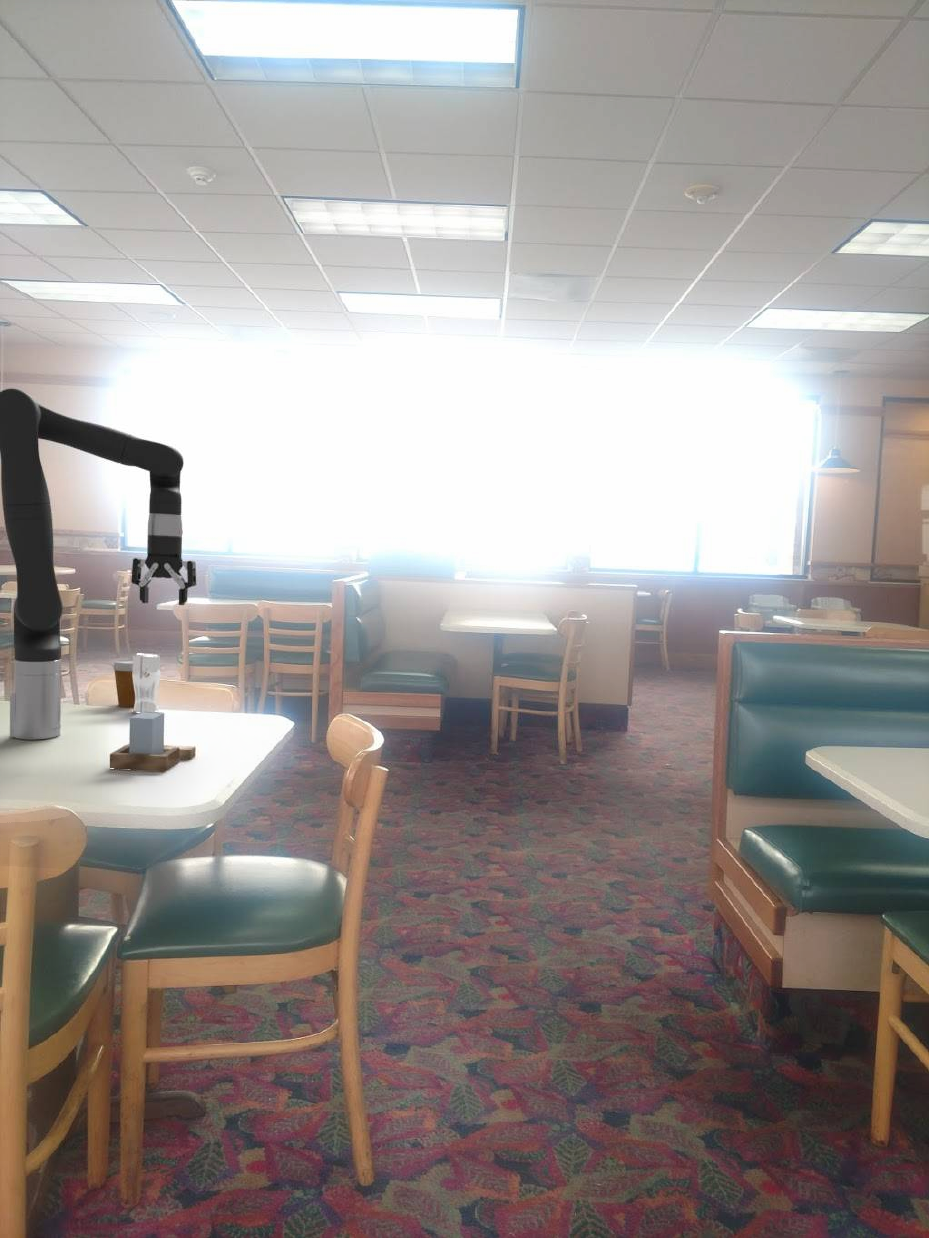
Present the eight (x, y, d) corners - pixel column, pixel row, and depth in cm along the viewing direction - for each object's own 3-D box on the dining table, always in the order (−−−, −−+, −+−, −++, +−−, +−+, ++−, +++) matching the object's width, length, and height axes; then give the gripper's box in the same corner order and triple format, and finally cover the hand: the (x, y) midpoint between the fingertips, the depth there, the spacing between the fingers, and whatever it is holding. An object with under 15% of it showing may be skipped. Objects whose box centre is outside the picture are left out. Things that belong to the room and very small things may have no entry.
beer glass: (164, 712, 217) (165, 655, 216) (138, 715, 212) (139, 657, 211) (152, 708, 222) (153, 652, 221) (126, 710, 217) (127, 654, 216)
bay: (109, 769, 161) (109, 754, 160) (125, 759, 168) (125, 745, 168) (165, 771, 161) (166, 756, 161) (179, 762, 168) (179, 747, 168)
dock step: (122, 756, 171) (122, 746, 171) (128, 752, 174) (128, 743, 174) (190, 759, 171) (190, 749, 171) (195, 755, 174) (195, 746, 174)
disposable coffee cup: (141, 709, 220) (142, 664, 219) (105, 707, 220) (106, 662, 219) (155, 702, 230) (156, 660, 229) (121, 701, 230) (121, 658, 229)
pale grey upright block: (128, 767, 162) (129, 717, 162) (142, 760, 169) (143, 711, 168) (151, 769, 162) (152, 718, 162) (164, 761, 169) (165, 712, 168)
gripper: (127, 532, 188) (126, 603, 189) (190, 535, 188) (188, 606, 189) (140, 533, 195) (139, 601, 197) (200, 536, 196) (199, 604, 197)
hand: (163, 604), depth 193 cm, fingers open, 8 cm apart
